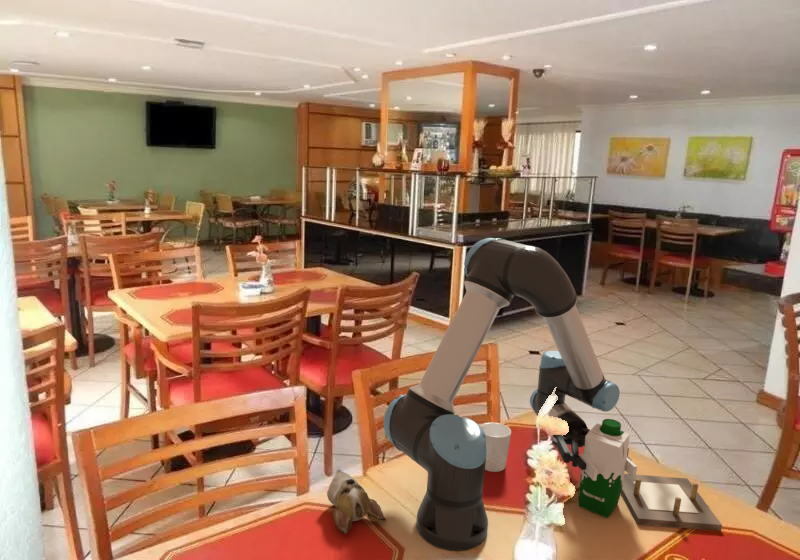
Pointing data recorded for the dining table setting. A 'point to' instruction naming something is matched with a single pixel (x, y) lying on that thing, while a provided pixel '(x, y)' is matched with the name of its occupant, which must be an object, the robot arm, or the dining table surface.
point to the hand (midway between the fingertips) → (615, 473)
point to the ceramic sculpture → (351, 502)
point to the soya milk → (604, 467)
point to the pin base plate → (667, 503)
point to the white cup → (496, 445)
